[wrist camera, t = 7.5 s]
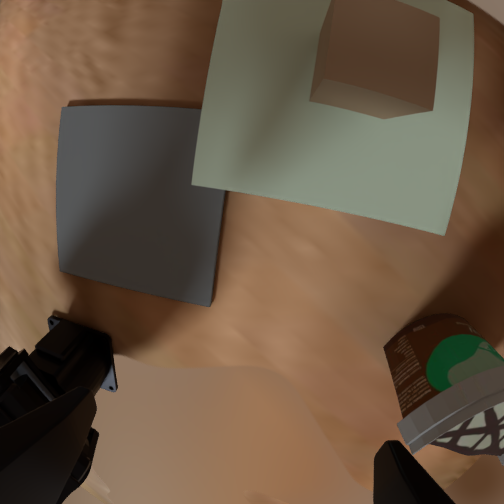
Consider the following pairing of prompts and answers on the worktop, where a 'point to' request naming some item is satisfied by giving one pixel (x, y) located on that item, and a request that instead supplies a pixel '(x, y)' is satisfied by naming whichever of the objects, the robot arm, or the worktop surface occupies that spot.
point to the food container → (448, 386)
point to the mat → (136, 201)
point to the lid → (340, 105)
